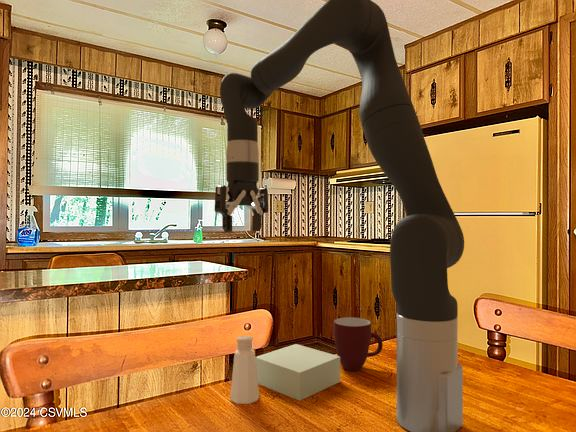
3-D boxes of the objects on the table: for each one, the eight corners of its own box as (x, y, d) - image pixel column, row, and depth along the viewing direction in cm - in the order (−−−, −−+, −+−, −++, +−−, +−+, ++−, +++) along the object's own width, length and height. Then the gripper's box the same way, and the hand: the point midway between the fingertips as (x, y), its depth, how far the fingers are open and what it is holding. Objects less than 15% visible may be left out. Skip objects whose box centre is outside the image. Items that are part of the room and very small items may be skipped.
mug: (375, 360, 97) (375, 316, 97) (387, 373, 89) (387, 325, 89) (329, 362, 95) (329, 317, 95) (338, 375, 87) (338, 327, 87)
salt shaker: (233, 406, 73) (233, 343, 73) (226, 394, 78) (226, 335, 78) (263, 401, 75) (263, 339, 75) (254, 390, 80) (254, 331, 80)
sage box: (340, 381, 84) (340, 356, 84) (299, 400, 75) (299, 372, 75) (295, 366, 92) (295, 343, 92) (254, 382, 84) (254, 357, 84)
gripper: (228, 157, 91) (228, 233, 91) (275, 163, 101) (275, 231, 101) (207, 160, 96) (207, 232, 96) (254, 165, 106) (254, 230, 106)
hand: (242, 231), depth 98 cm, fingers open, 8 cm apart
